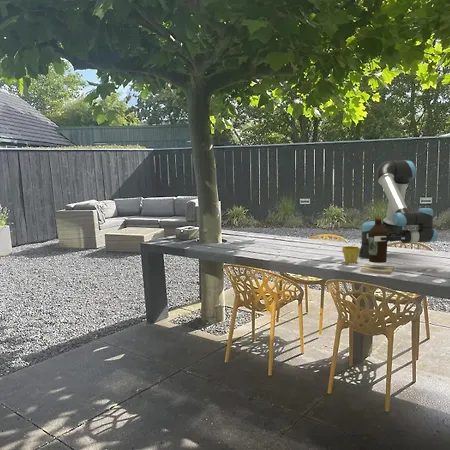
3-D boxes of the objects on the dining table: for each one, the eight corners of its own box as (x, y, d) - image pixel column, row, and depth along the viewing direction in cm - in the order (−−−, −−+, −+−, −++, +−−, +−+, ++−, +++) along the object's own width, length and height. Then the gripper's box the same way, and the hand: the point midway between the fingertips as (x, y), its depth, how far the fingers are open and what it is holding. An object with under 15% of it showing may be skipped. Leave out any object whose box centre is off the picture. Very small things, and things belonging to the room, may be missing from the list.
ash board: (365, 266, 257) (365, 264, 256) (393, 268, 249) (393, 266, 249) (360, 272, 243) (360, 269, 242) (390, 274, 235) (390, 271, 235)
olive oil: (378, 259, 252) (378, 216, 249) (391, 262, 242) (392, 218, 240) (363, 260, 248) (364, 217, 245) (377, 264, 238) (377, 219, 235)
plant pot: (349, 265, 262) (349, 249, 260) (338, 262, 271) (339, 246, 270) (363, 263, 266) (363, 247, 264) (352, 260, 275) (352, 245, 274)
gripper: (418, 245, 233) (378, 247, 232) (399, 239, 256) (363, 241, 255) (418, 232, 232) (378, 233, 232) (399, 227, 255) (363, 228, 254)
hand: (370, 237), depth 243 cm, fingers closed on olive oil, 10 cm apart
